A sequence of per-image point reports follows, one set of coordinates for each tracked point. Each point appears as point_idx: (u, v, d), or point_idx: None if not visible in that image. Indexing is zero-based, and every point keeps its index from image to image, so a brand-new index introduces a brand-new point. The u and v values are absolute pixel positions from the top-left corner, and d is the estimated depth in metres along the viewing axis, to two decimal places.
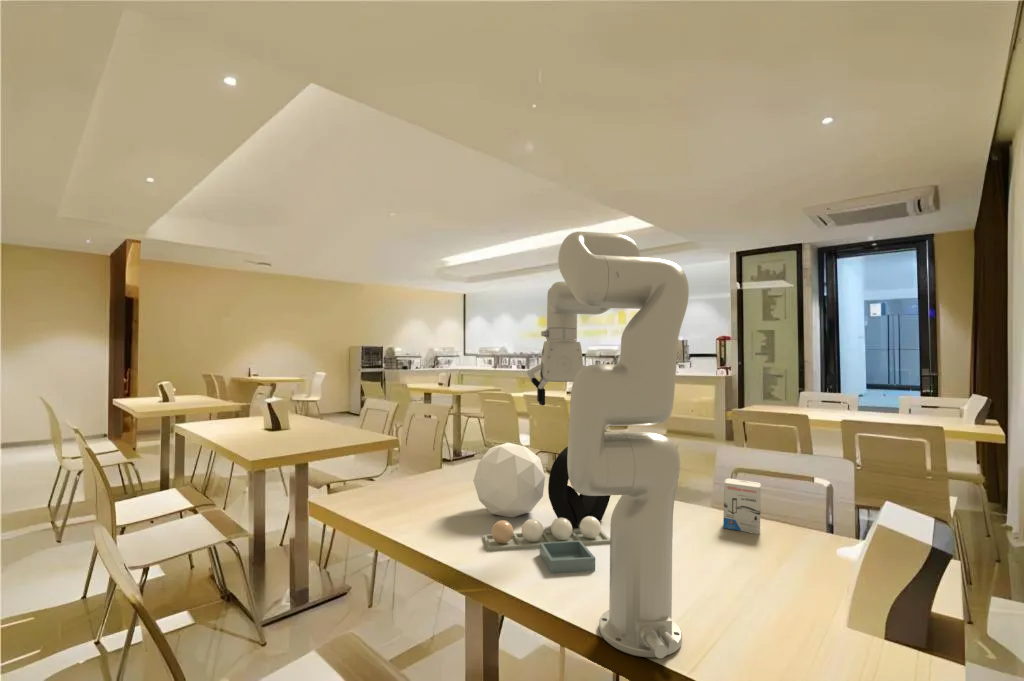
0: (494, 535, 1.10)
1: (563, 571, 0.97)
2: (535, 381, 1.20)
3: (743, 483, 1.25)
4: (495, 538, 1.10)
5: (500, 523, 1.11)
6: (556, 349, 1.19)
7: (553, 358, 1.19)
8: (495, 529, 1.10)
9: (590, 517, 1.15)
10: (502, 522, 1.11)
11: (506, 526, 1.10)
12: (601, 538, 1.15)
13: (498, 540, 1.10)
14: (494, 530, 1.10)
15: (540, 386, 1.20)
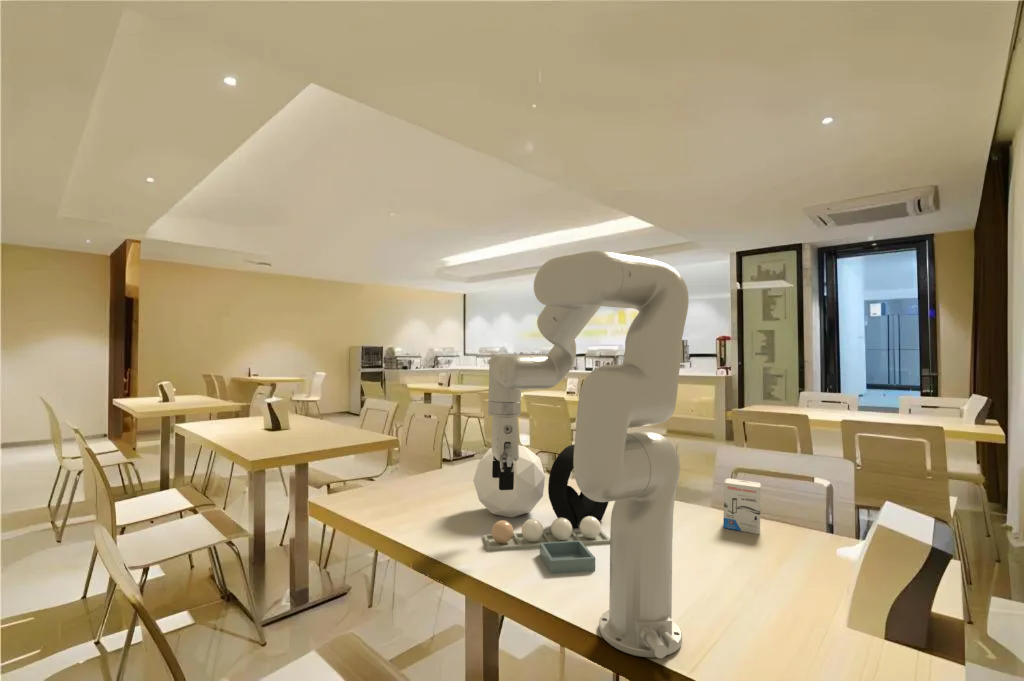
0: (494, 535, 1.10)
1: (563, 571, 0.97)
2: None
3: (743, 483, 1.25)
4: (495, 538, 1.10)
5: (500, 523, 1.11)
6: None
7: None
8: (495, 529, 1.10)
9: (590, 517, 1.15)
10: (502, 522, 1.11)
11: (506, 526, 1.10)
12: (601, 538, 1.15)
13: (498, 540, 1.10)
14: (494, 530, 1.10)
15: None
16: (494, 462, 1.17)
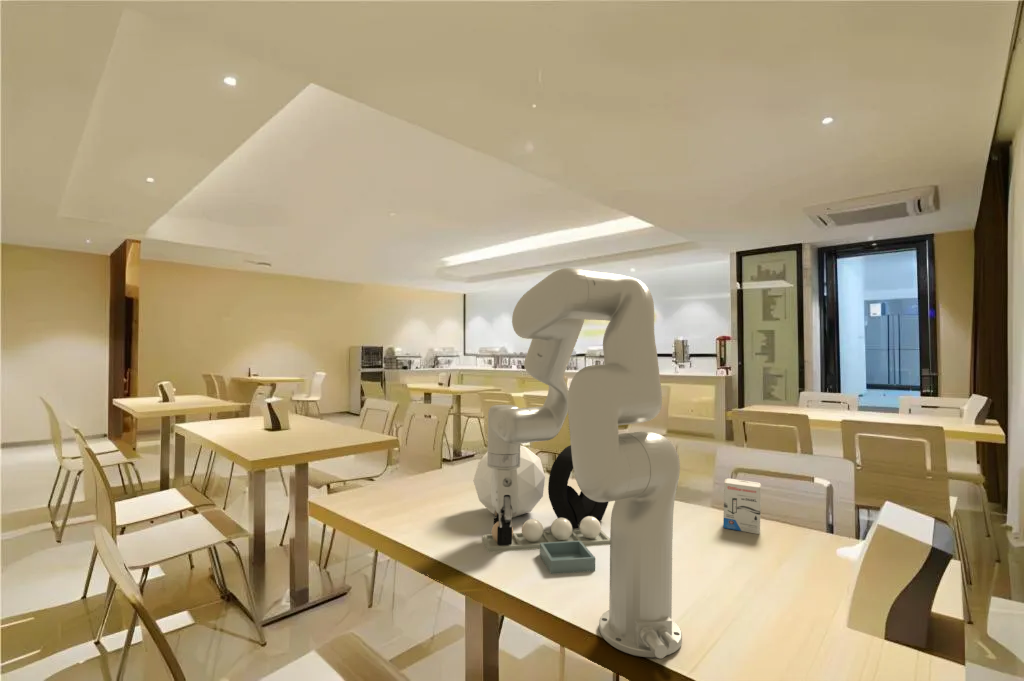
0: (494, 535, 1.10)
1: (563, 571, 0.97)
2: None
3: (743, 483, 1.25)
4: (495, 538, 1.10)
5: None
6: None
7: None
8: (495, 529, 1.10)
9: (590, 517, 1.15)
10: None
11: None
12: (601, 538, 1.15)
13: None
14: (494, 530, 1.10)
15: None
16: (495, 519, 1.14)
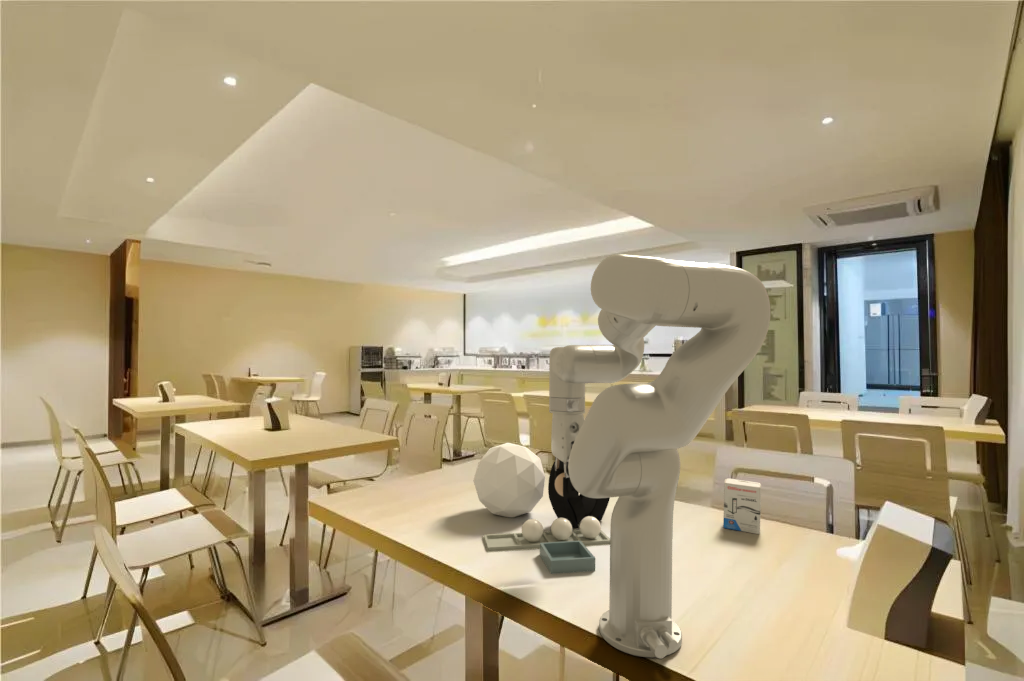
0: (559, 487, 1.01)
1: (563, 571, 0.97)
2: None
3: (743, 483, 1.25)
4: (560, 490, 1.00)
5: (564, 474, 1.01)
6: None
7: None
8: (560, 481, 1.01)
9: (590, 517, 1.15)
10: None
11: None
12: (601, 538, 1.15)
13: None
14: (559, 481, 1.01)
15: None
16: (557, 472, 1.05)
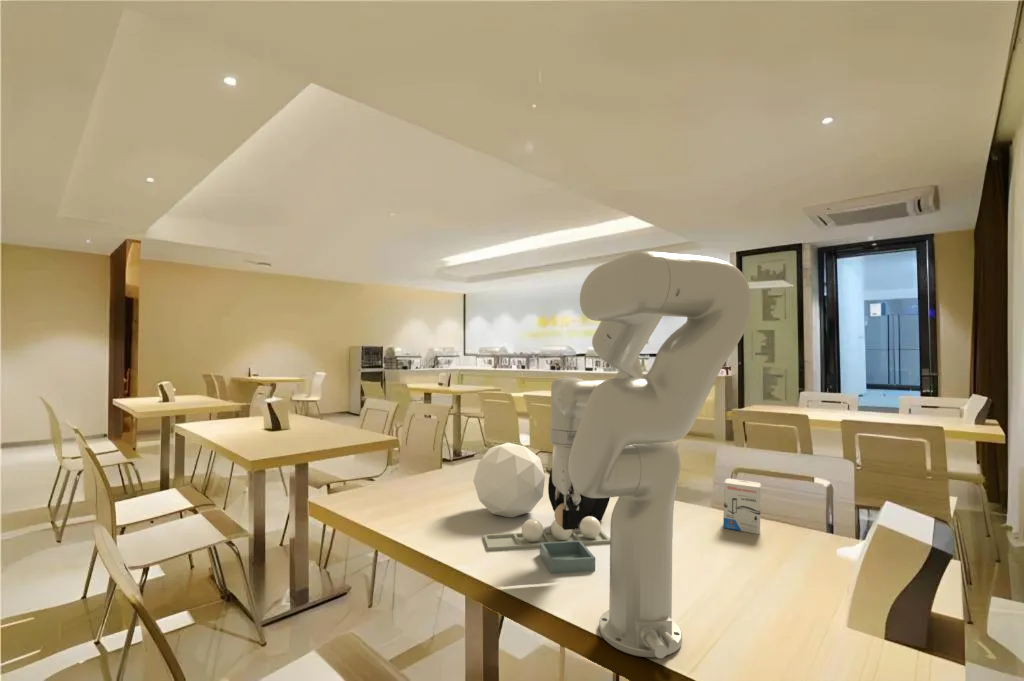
0: (558, 518, 1.01)
1: (563, 571, 0.97)
2: None
3: (743, 483, 1.25)
4: (559, 522, 1.01)
5: None
6: None
7: None
8: (559, 512, 1.01)
9: (590, 517, 1.15)
10: None
11: None
12: (601, 538, 1.15)
13: None
14: (559, 513, 1.01)
15: None
16: (557, 502, 1.05)
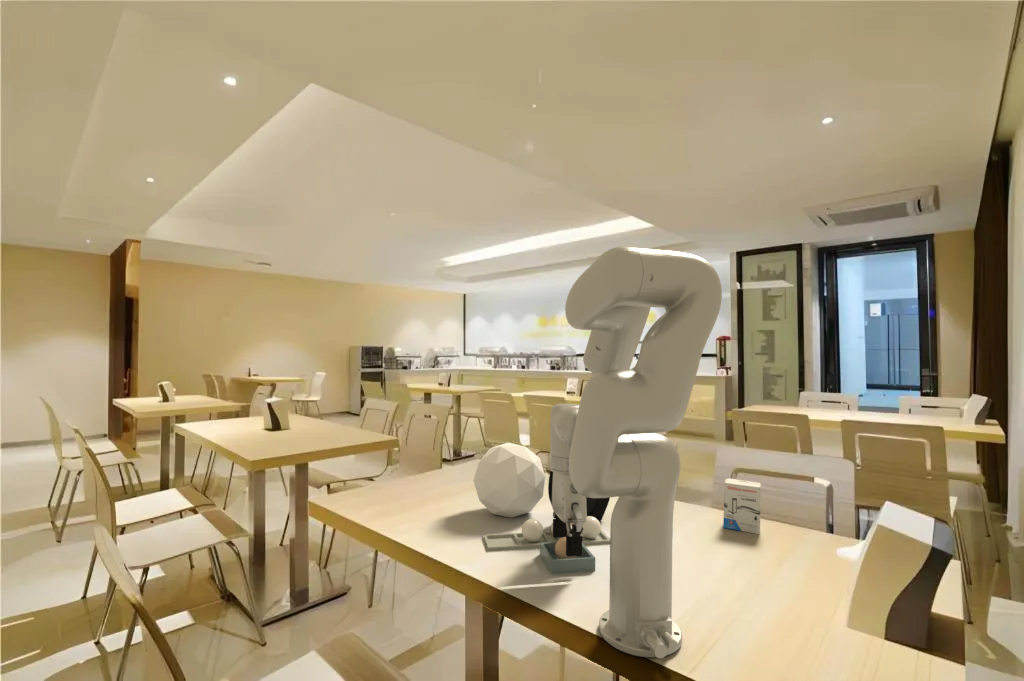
0: (559, 553, 1.00)
1: (563, 571, 0.97)
2: None
3: (743, 483, 1.25)
4: (560, 557, 1.00)
5: (565, 540, 1.01)
6: None
7: None
8: (560, 547, 1.00)
9: (590, 517, 1.15)
10: None
11: None
12: (601, 538, 1.15)
13: None
14: (559, 548, 1.01)
15: None
16: (555, 521, 1.06)
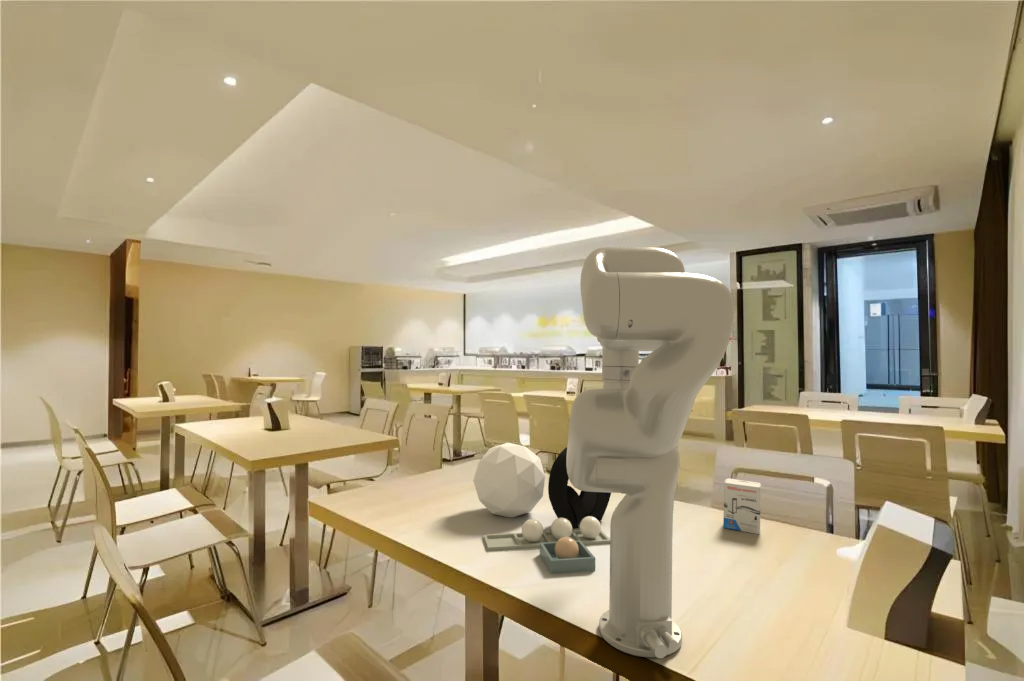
0: (559, 553, 1.00)
1: (563, 571, 0.97)
2: None
3: (743, 483, 1.25)
4: (560, 556, 1.00)
5: (564, 540, 1.01)
6: None
7: None
8: (560, 547, 1.01)
9: (590, 517, 1.15)
10: (566, 539, 1.02)
11: (572, 543, 1.01)
12: (601, 538, 1.15)
13: None
14: (559, 547, 1.01)
15: None
16: None
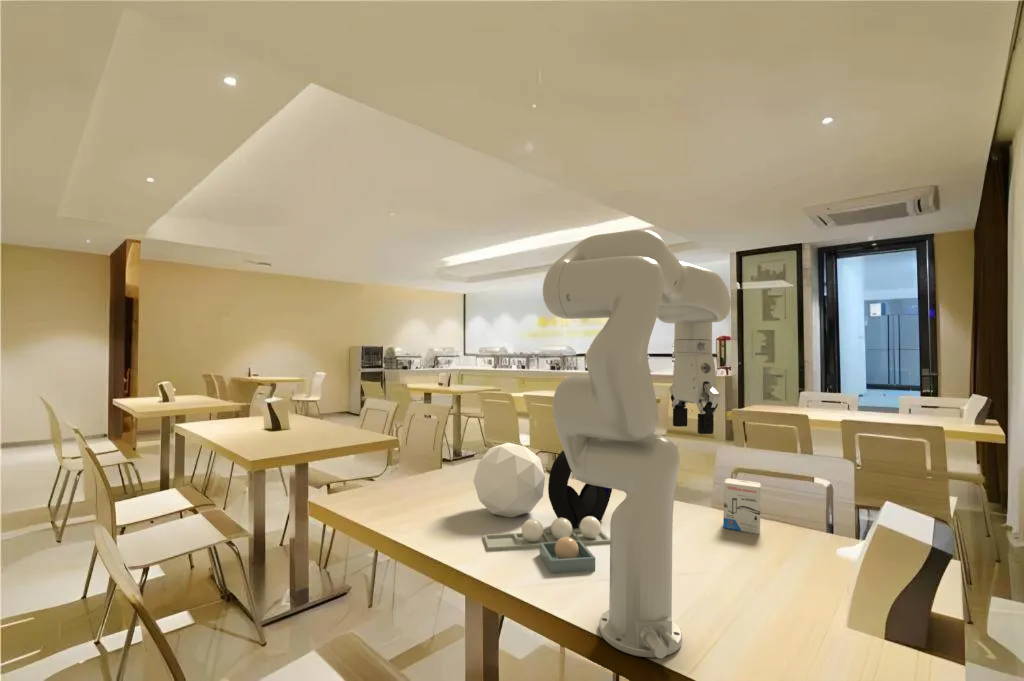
0: (558, 553, 1.00)
1: (563, 571, 0.97)
2: None
3: (743, 483, 1.25)
4: (560, 556, 1.00)
5: (564, 540, 1.01)
6: None
7: None
8: (559, 546, 1.01)
9: (590, 517, 1.15)
10: (566, 538, 1.02)
11: (572, 543, 1.01)
12: (601, 538, 1.15)
13: (563, 558, 1.00)
14: (559, 547, 1.01)
15: None
16: (675, 409, 1.08)
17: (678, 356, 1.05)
